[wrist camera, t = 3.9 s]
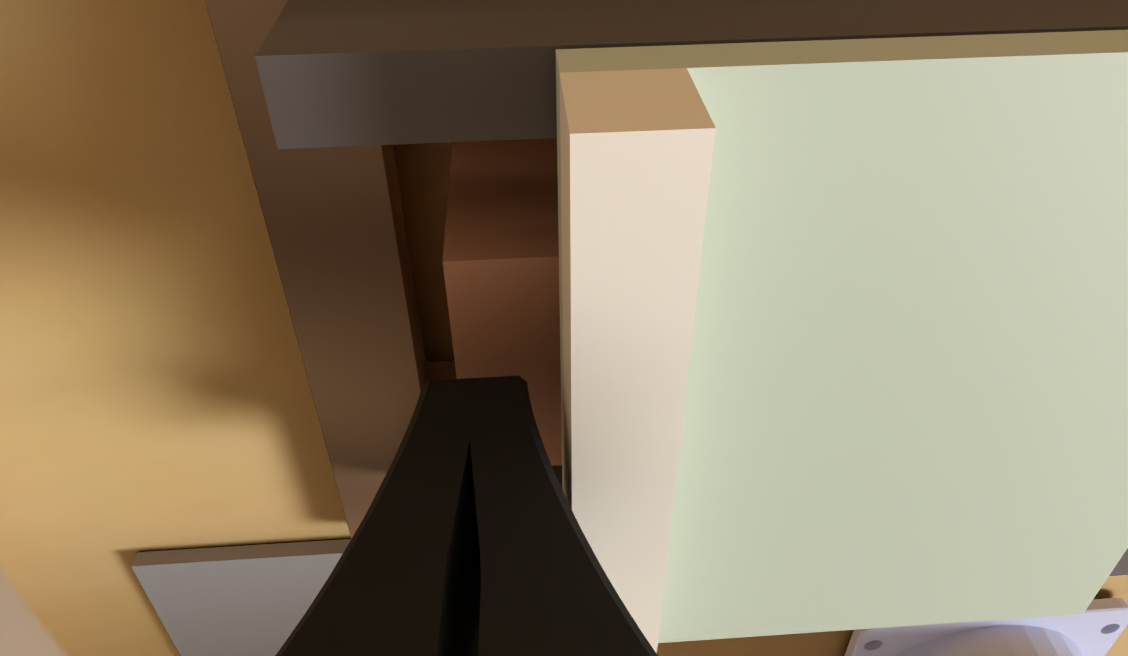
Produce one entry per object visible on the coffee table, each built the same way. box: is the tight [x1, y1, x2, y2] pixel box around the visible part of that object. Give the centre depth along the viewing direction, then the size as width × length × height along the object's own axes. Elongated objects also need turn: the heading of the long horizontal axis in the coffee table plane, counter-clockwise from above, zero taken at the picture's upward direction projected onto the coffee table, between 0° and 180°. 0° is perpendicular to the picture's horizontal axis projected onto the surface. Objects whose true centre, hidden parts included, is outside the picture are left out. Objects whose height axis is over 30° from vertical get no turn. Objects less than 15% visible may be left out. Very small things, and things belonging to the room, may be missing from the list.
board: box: [205, 0, 1128, 576], centre depth 14 cm, size 16×22×5 cm
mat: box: [131, 539, 351, 656], centre depth 22 cm, size 7×7×1 cm
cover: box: [556, 30, 1128, 654], centre depth 11 cm, size 10×9×2 cm
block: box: [443, 138, 562, 466], centre depth 14 cm, size 4×4×4 cm
